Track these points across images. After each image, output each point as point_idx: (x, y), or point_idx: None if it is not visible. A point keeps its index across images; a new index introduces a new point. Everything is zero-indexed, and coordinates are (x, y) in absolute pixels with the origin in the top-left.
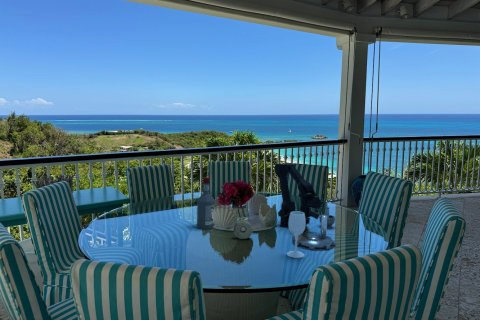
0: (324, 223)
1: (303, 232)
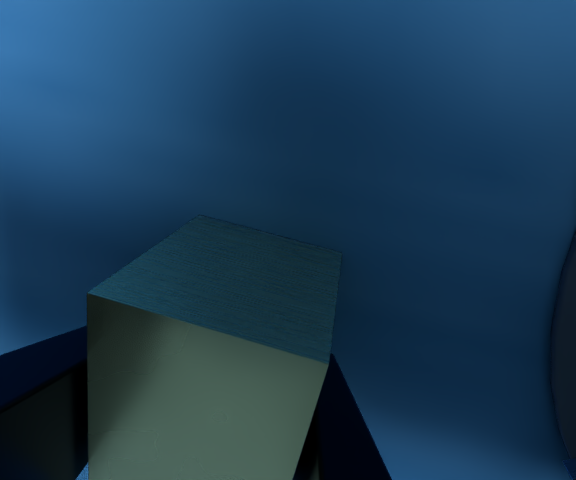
0: None
1: None
